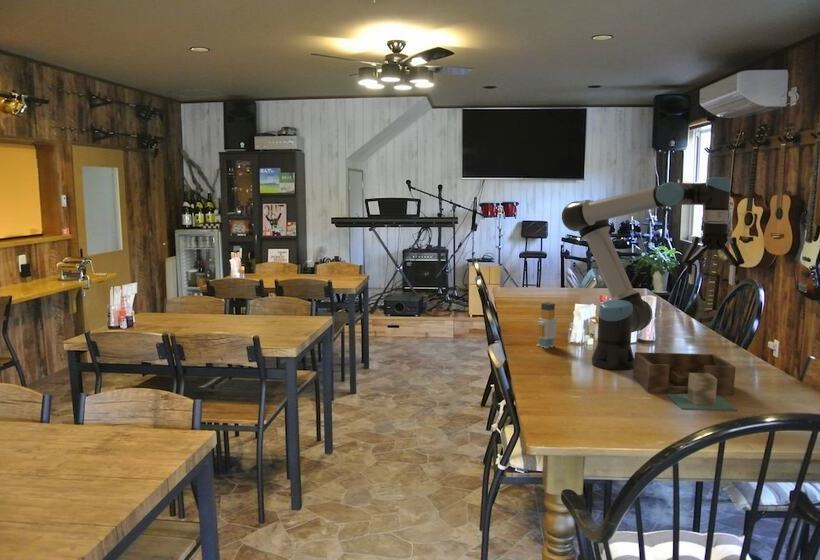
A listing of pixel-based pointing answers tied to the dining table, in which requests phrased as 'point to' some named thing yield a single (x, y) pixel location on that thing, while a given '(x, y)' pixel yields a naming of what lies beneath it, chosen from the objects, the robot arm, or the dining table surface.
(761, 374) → the dining table surface
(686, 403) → the mat
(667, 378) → the crate
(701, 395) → the block
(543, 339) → the character figure
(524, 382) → the dining table surface
